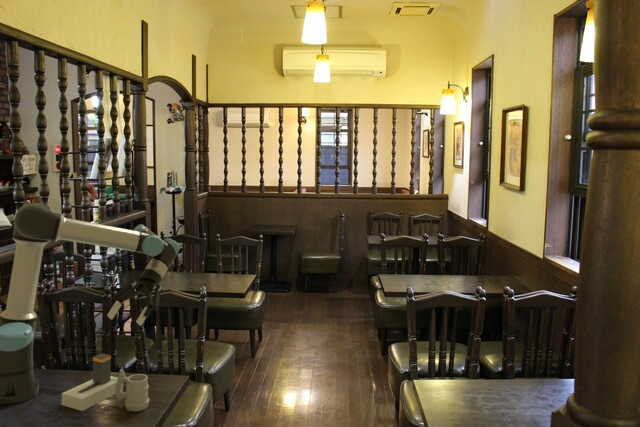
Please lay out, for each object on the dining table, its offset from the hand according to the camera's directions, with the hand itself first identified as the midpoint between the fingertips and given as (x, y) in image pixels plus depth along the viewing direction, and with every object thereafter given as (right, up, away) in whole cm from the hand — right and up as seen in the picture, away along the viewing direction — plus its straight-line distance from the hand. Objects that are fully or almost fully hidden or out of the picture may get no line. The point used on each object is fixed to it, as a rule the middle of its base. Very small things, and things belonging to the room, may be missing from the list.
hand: (123, 320), depth 190 cm
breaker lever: (-4, -19, -10) cm, 22 cm away
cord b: (+1, -23, -1) cm, 23 cm away
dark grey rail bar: (-1, -23, -3) cm, 23 cm away
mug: (+9, -25, -17) cm, 32 cm away
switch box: (-6, -24, -12) cm, 27 cm away
